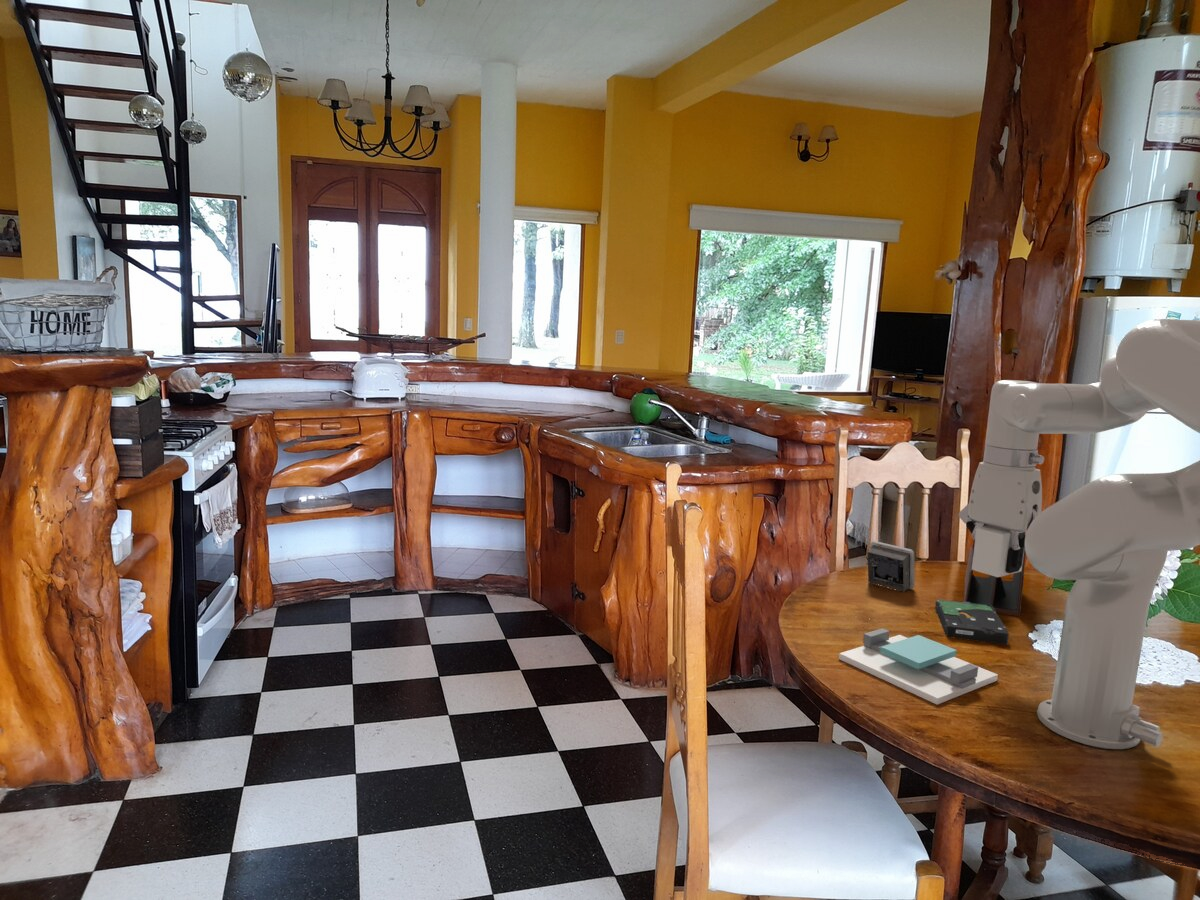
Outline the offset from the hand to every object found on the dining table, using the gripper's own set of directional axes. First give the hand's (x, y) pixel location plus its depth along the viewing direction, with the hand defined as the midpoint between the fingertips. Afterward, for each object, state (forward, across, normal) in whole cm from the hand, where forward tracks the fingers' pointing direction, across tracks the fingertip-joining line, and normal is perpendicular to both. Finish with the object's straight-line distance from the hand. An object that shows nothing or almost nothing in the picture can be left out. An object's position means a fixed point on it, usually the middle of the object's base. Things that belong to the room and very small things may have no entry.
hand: (996, 566), depth 135 cm
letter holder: (+16, +17, -32) cm, 39 cm away
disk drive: (+17, +10, -12) cm, 23 cm away
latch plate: (+14, +3, +14) cm, 20 cm away
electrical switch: (+16, +32, -17) cm, 39 cm away
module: (+1, 0, 0) cm, 1 cm away
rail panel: (+16, +4, +14) cm, 22 cm away
